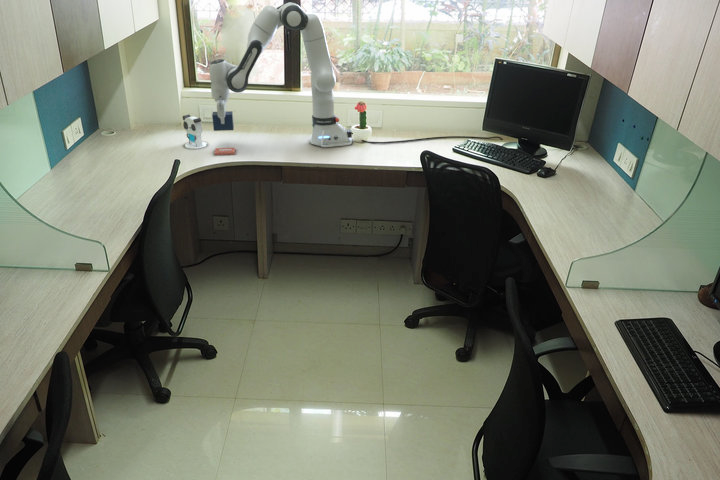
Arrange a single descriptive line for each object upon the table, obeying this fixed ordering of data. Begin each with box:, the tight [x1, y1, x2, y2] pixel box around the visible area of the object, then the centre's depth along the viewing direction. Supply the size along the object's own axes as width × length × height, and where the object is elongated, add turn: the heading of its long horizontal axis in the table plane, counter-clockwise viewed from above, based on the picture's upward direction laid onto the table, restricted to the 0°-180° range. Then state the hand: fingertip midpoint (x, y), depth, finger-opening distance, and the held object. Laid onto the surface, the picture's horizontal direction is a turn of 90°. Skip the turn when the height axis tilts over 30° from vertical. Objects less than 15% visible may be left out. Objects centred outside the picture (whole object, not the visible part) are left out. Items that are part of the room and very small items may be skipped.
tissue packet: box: [214, 147, 236, 156], centre depth 316 cm, size 10×7×1 cm
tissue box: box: [211, 110, 235, 132], centre depth 316 cm, size 10×6×9 cm, turn 97°
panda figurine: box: [182, 114, 208, 150], centre depth 322 cm, size 12×11×15 cm
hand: (223, 121), depth 316 cm, fingers closed on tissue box, 6 cm apart
